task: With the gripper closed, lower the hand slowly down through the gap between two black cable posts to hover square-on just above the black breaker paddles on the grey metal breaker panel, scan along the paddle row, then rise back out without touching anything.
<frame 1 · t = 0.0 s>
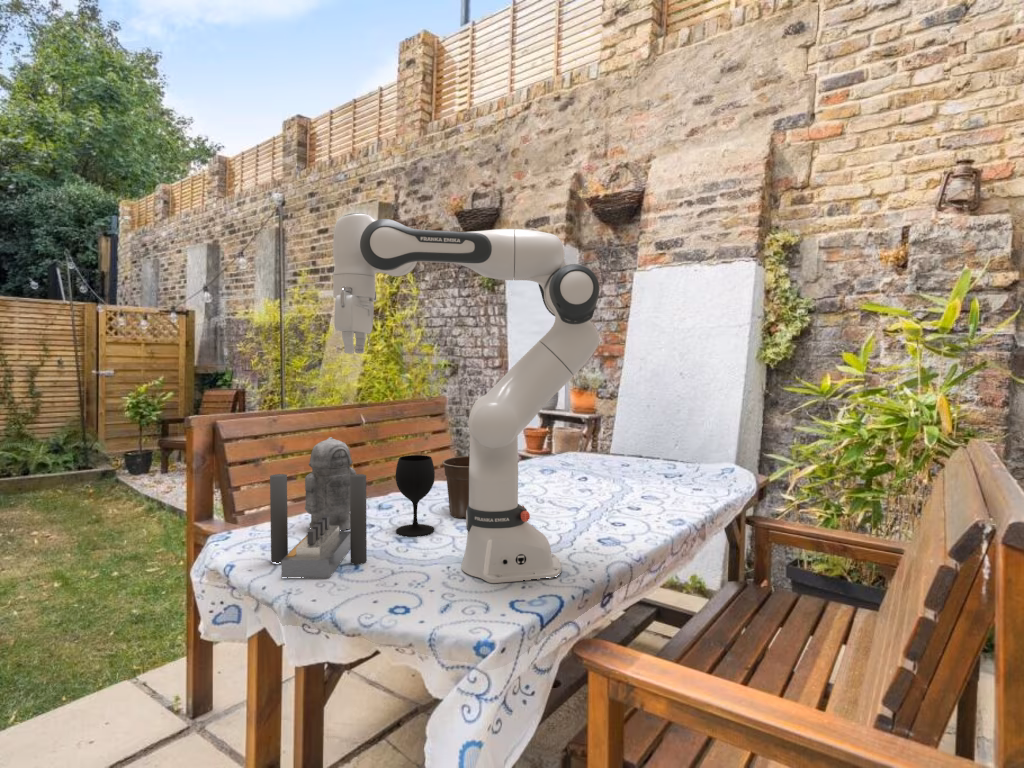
hand: (354, 353, 128), 48 cm above the table, tool pointing down, fingers open, 8 cm apart
breaker panel: (319, 561, 134), on the table
plant pot: (469, 514, 175), on the table
wine glass: (415, 531, 157), on the table
figurine: (332, 528, 160), on the table
cable post 1: (279, 561, 134), on the table
breaker paddles: (318, 529, 133), point 8 cm above the table, hinge at 0.0°
cable post 2: (358, 561, 134), on the table
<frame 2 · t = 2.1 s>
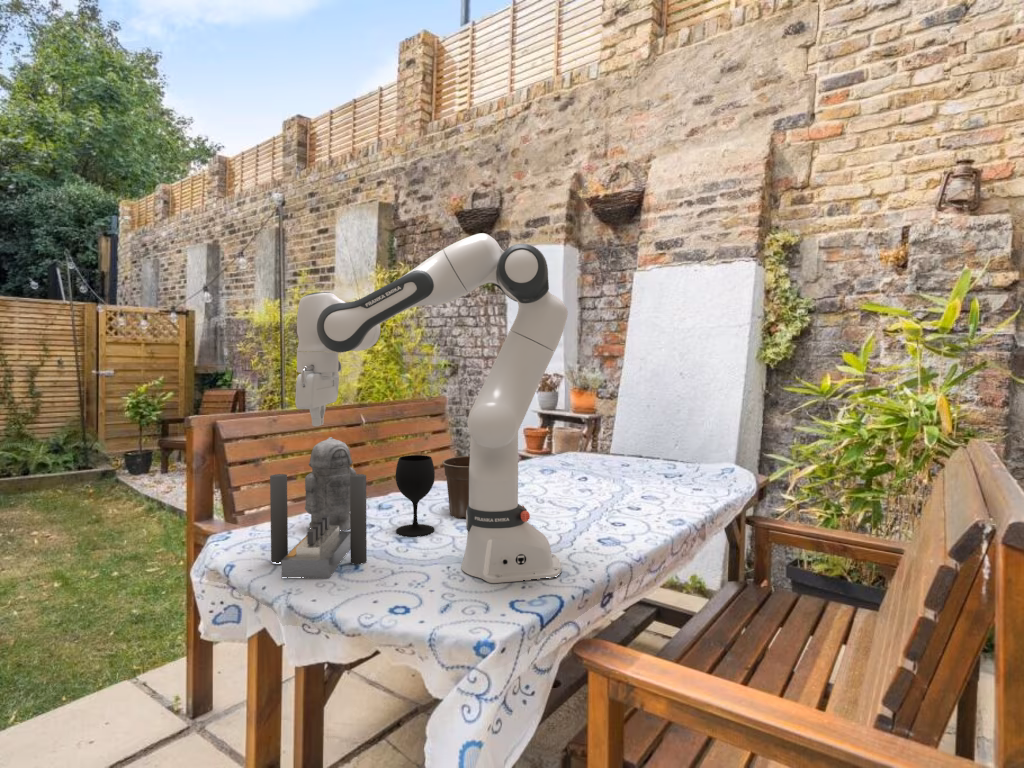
hand: (317, 425, 132), 32 cm above the table, tool pointing down, fingers closed
nothing on the table moved.
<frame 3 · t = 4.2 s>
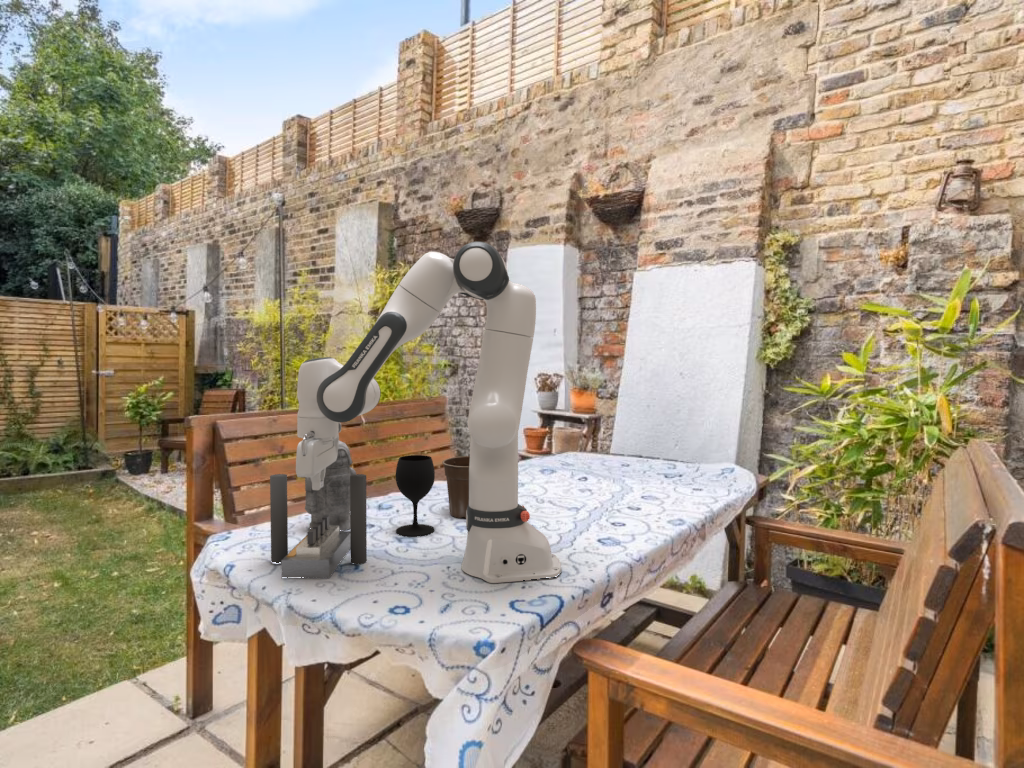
hand: (317, 488, 133), 17 cm above the table, tool pointing down, fingers closed
nothing on the table moved.
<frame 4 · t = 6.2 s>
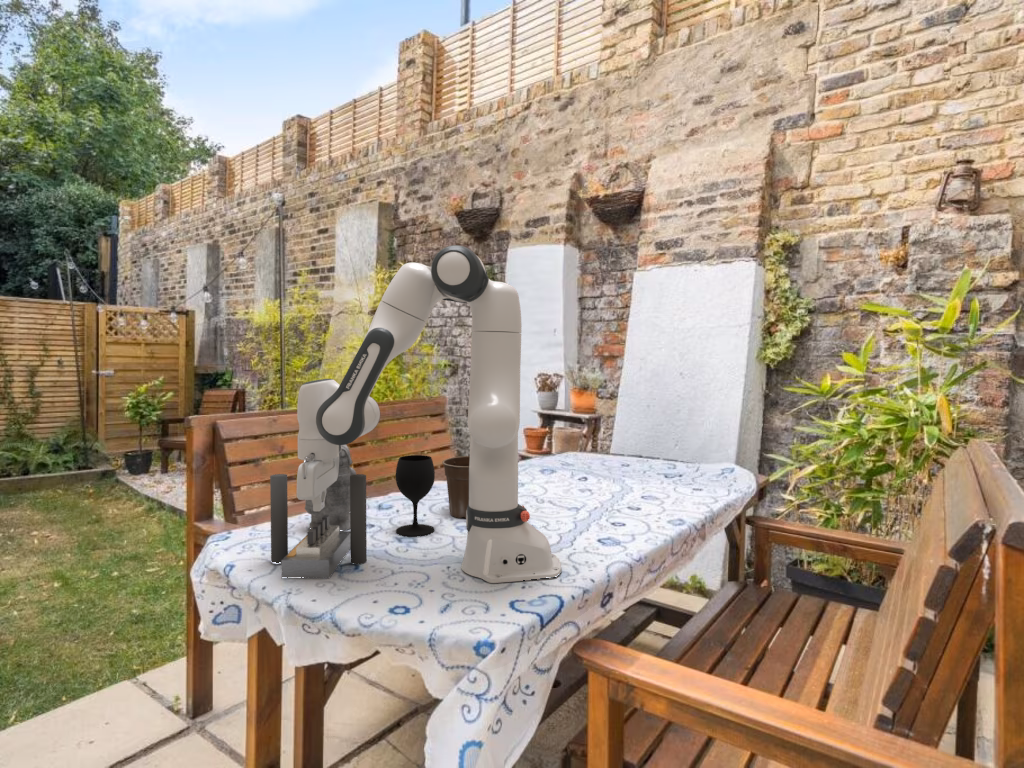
hand: (318, 509, 133), 12 cm above the table, tool pointing down, fingers closed
nothing on the table moved.
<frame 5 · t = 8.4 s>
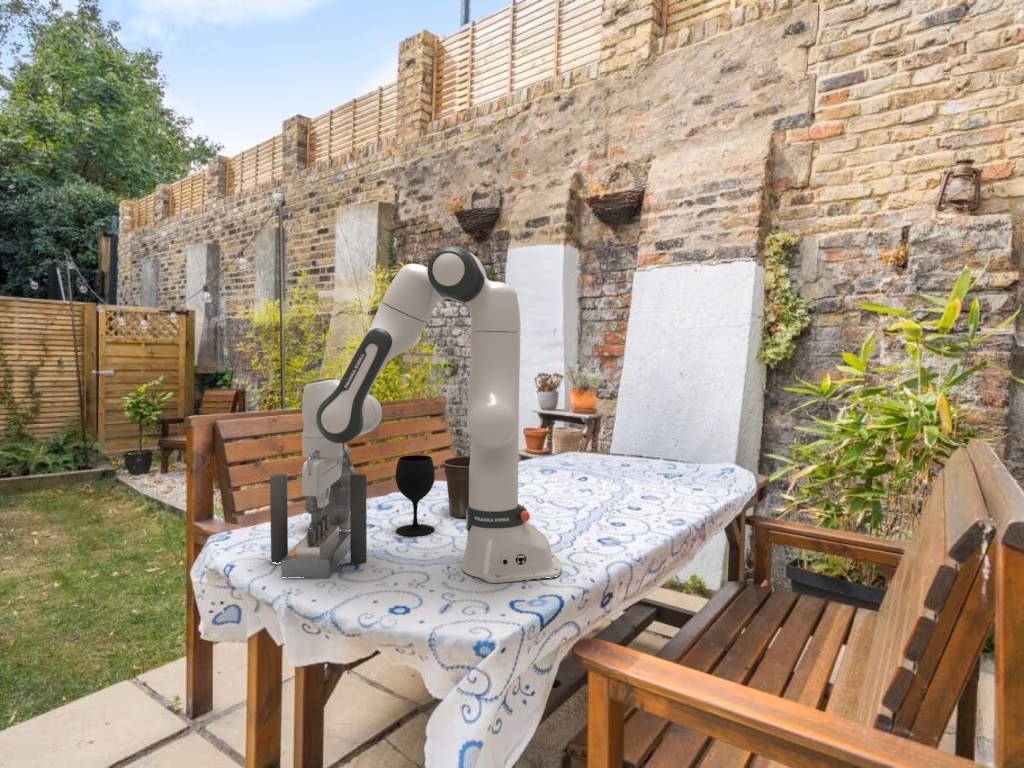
hand: (322, 506, 136), 12 cm above the table, tool pointing down, fingers closed
nothing on the table moved.
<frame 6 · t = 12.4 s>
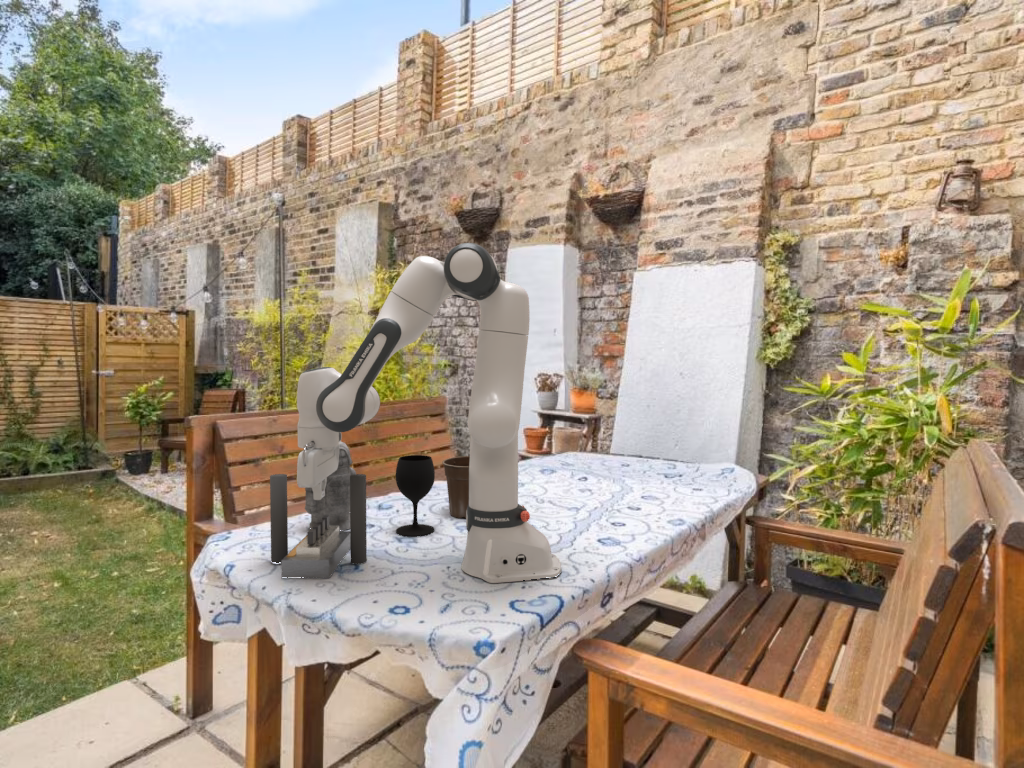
hand: (319, 498, 133), 15 cm above the table, tool pointing down, fingers closed
nothing on the table moved.
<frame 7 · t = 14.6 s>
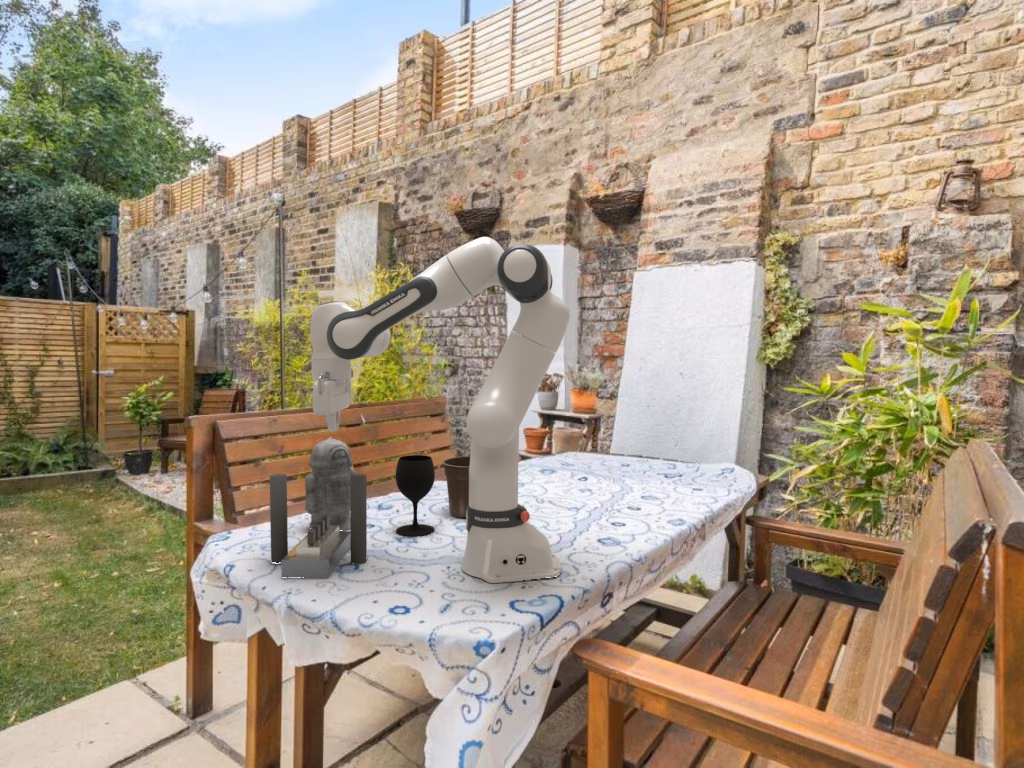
hand: (333, 430, 137), 30 cm above the table, tool pointing down, fingers closed
nothing on the table moved.
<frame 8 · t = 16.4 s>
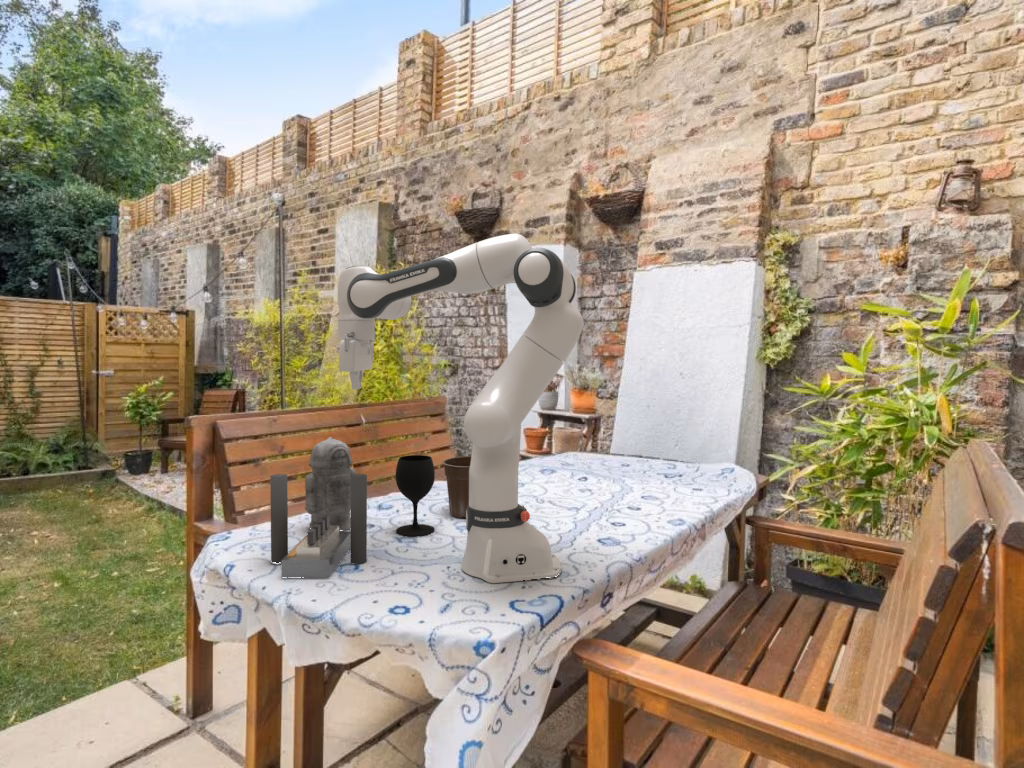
hand: (356, 389, 144), 39 cm above the table, tool pointing down, fingers closed
nothing on the table moved.
at the end: cable post 2 moved 0.0 cm from its start; cable post 1 moved 0.0 cm from its start; breaker paddles at +0° (first picture: +0°) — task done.
